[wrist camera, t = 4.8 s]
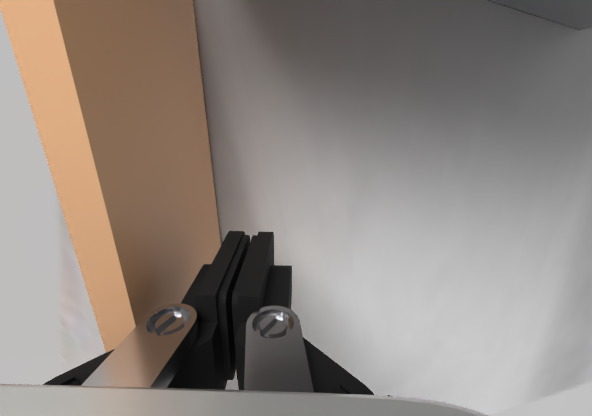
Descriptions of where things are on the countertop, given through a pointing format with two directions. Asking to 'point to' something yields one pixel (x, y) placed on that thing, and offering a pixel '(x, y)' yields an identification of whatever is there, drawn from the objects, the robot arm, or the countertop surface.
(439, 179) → the countertop surface
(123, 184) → the door
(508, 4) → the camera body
